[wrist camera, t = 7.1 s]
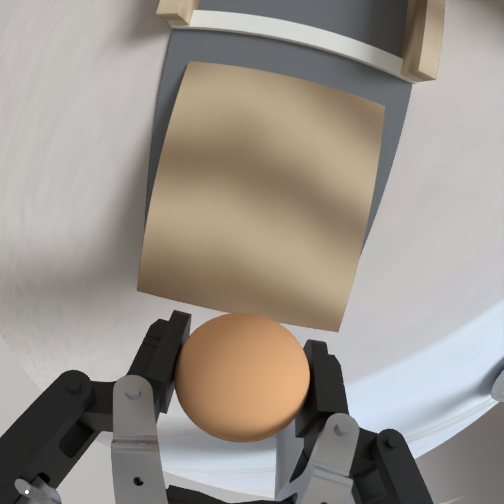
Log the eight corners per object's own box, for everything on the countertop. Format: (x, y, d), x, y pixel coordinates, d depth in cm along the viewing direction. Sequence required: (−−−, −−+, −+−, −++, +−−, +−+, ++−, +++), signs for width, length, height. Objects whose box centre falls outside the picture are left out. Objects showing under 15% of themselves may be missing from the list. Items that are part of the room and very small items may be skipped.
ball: (322, 300, 11) (341, 408, 7) (285, 376, 13) (285, 465, 9) (196, 273, 11) (155, 376, 6) (186, 356, 13) (160, 443, 9)
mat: (342, 295, 21) (344, 302, 20) (144, 254, 20) (140, 259, 20) (424, -18, 9) (429, -21, 9) (208, -69, 9) (206, -75, 8)
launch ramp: (322, 286, 21) (334, 339, 16) (166, 253, 21) (137, 298, 16) (379, 105, 15) (421, 105, 10) (193, 62, 15) (160, 43, 10)
